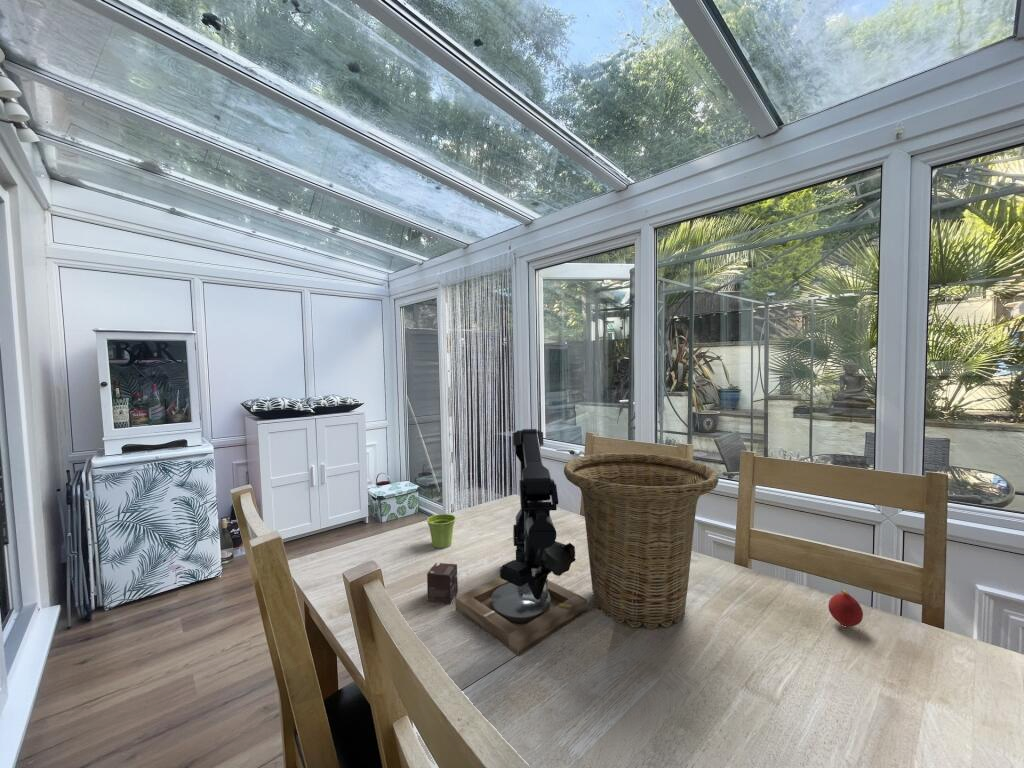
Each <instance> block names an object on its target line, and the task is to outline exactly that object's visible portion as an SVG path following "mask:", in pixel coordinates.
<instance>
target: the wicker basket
mask: <svg viewBox="0 0 1024 768" xmlns="http://www.w3.org/2000/svg"><path fill="white" fill-rule="evenodd" d="M563 473H564V476H565V478H566V480H567V481H569V482H570V483H571V484H573V486H576V487H578V488H579V489H580V492H581V495H582V502H583V512H584V513H583V514H584V521H585V533H586V542H587V551H588V560H589V561H588V562H589V571H590V581H591V588H592V595H593V601H594V604H595V606H596V608H598V609H600V610H601V612H602V614H603V615H605V616H606V617H610V616H611V617H612V619H613V620H614V621H615V622H616V623H619V624H622V623H624V622H625V621H626V623H627V624H628V625H629V626H630V627H632V628H635V627H636V628H639V627H641V626H642V624H643V625H644V626H645V628H646V629H649V630H654V629H656V628H657V627H658V626H659V625H660V626H661V627H662V628H669V627H670V626H671V625H672V623H673V622H674V623H677V622H678V623H679V622H680V620H682V617H683V616H685V611H686V605H687V604H686V603H687V596H688V589H689V588H688V587H689V579H690V572H691V571H690V570H691V562H692V561H691V559H692V550H693V540H694V531H695V521H696V513H697V512H696V511H697V504H698V501H699V498H700V496H703V495H706V494H709V492H712V491H713V490H715V488H716V487H718V484H719V475H718V473H717V471H716V470H715V469H714V468H712V467H710V466H709V465H706V464H704V463H702V462H698V461H695V460H691V459H687V458H682V457H677V456H670V455H663V454H653V453H642V452H641V453H640V452H609V453H598V454H597V453H596V454H595V453H594V454H588V455H583V456H579V457H575V458H573V459H570V460H569V461H567V462H566V464H565V465H564V468H563ZM678 623H677V624H678Z"/></svg>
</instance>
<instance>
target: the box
mask: <svg viewBox="0 0 1024 768" xmlns="http://www.w3.org/2000/svg"><path fill="white" fill-rule="evenodd" d="M426 574H427V575H426V581H427V582H426V583H427V586H426V588H427V591H426V592H427V603H434V604H435V603H437V604H446V605H447V604H448V605H450V604H451V603H452V602H453V600H454V599H455V598H456V597H457V596H456V595H458V593H459V585H458V582H459V581H458V580H459V579H458V564H457V563H445V562H444V563H442V562H435V563H434V565H433V566H432V567H430V570H429V571H428V572H427V573H426Z"/></svg>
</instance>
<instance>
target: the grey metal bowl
mask: <svg viewBox="0 0 1024 768" xmlns="http://www.w3.org/2000/svg"><path fill="white" fill-rule="evenodd" d="M548 580H549V579H548V578H547V579H546V582H545V585H544V588H543V591H542V595H541V598H540V599H539V600H537V599H535V598H534V596H533V594H532V591H531V589H530V587H529V585H528V583H526V584H524V585H523V586H516V585H514V584H512V583H509V584H505V585H503V586H501V587H499V588H497V589H496V590H495V591H494V592H493V593H492V596H491V609H492V611H495V613H497V614H498V615H500V616H501V617H503V618H505V619H506V620H508V621H509V622H511V623H518V624H523V623H529V622H531V621H532V620H534V619H536V618H538V617H539V616H541V615H543V614H544V613H546V612H548V611H549V610H550V608H551V597H550V594H549V592H548Z"/></svg>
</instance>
